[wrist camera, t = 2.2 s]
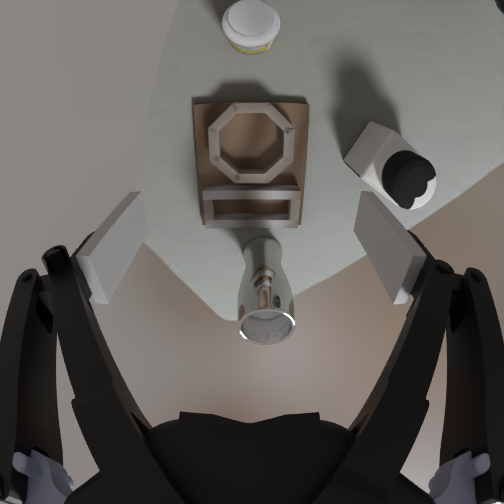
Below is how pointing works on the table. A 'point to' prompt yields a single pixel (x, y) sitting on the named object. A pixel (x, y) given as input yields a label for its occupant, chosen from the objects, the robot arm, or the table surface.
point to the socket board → (251, 163)
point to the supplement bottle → (251, 26)
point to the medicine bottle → (392, 167)
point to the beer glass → (264, 295)
